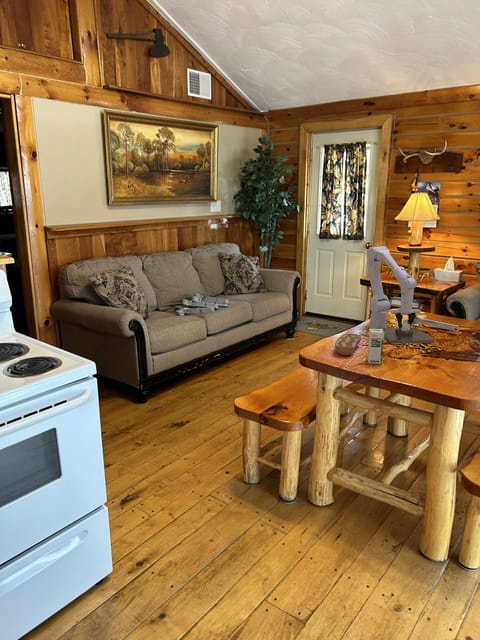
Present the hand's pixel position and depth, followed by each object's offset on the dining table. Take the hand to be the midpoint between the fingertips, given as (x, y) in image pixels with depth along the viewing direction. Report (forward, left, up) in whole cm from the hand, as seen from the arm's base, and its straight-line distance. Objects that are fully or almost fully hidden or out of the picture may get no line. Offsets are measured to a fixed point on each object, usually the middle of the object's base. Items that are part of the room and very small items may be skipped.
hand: (404, 327), depth 248 cm
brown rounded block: (+19, -35, -5) cm, 40 cm away
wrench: (-15, +20, -5) cm, 25 cm away
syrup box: (+36, -27, -5) cm, 45 cm away
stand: (0, 0, -5) cm, 5 cm away
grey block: (0, 0, -3) cm, 3 cm away
